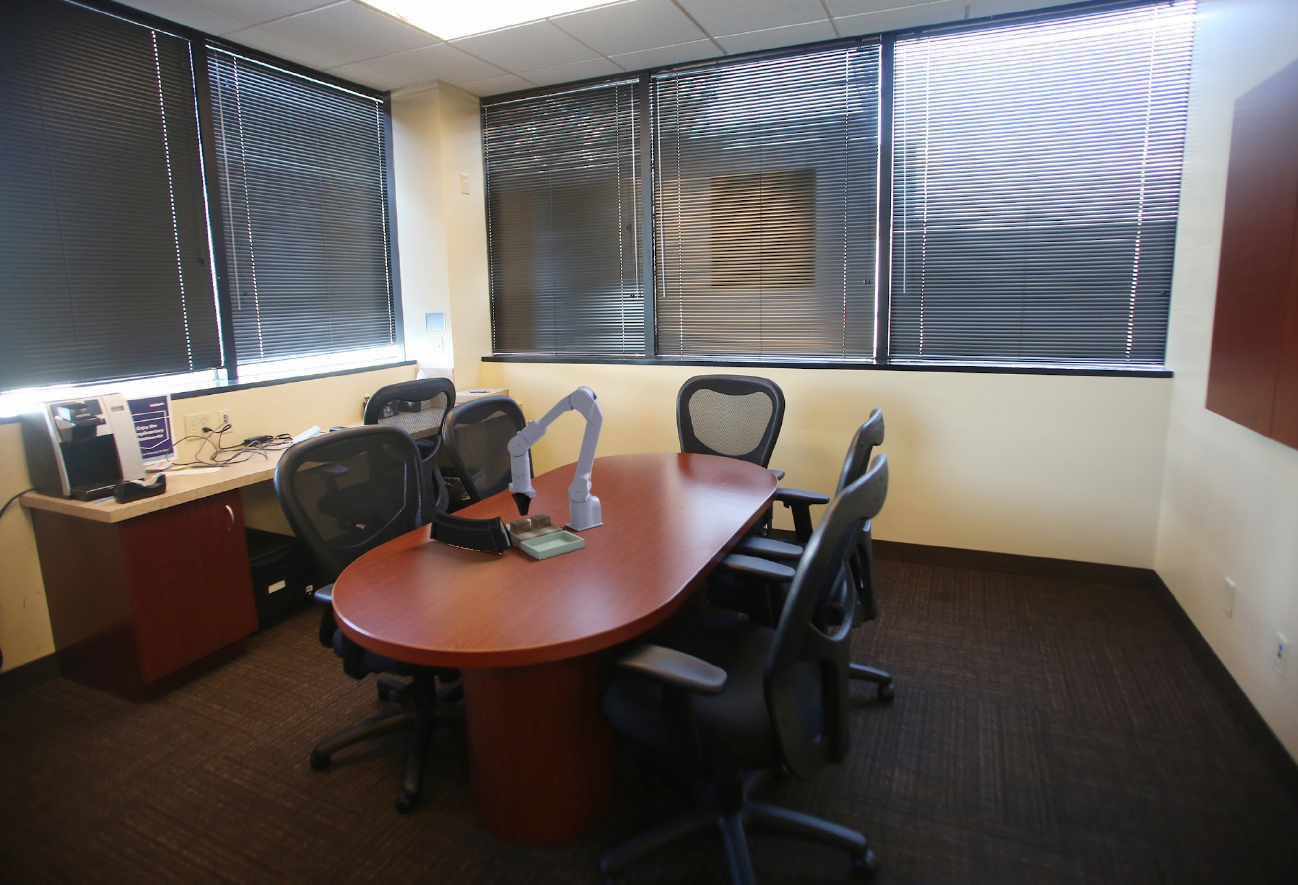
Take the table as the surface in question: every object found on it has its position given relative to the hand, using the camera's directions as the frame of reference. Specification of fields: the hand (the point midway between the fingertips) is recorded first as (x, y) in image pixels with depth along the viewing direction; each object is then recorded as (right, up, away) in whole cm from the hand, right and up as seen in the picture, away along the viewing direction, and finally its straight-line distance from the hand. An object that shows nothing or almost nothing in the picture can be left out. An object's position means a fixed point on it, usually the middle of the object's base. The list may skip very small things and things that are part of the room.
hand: (523, 515), depth 226 cm
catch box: (+12, -8, -20) cm, 25 cm away
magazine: (-12, -8, -17) cm, 23 cm away
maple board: (+3, -6, -9) cm, 11 cm away
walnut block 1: (+1, -4, -13) cm, 13 cm away
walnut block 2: (+7, -2, -8) cm, 11 cm away
